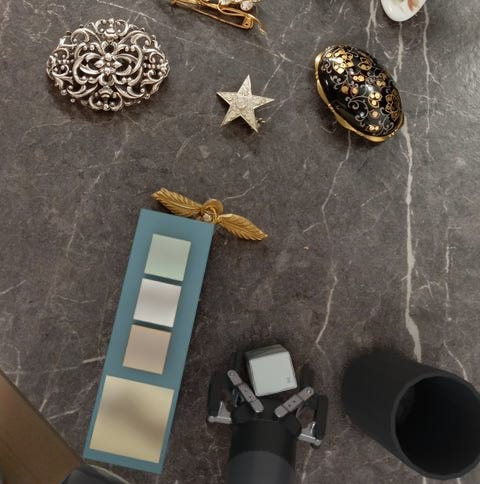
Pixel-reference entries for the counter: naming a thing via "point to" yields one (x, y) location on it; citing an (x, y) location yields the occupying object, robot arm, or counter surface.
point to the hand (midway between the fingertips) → (271, 360)
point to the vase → (416, 413)
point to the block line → (144, 362)
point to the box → (270, 370)
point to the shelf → (181, 329)
